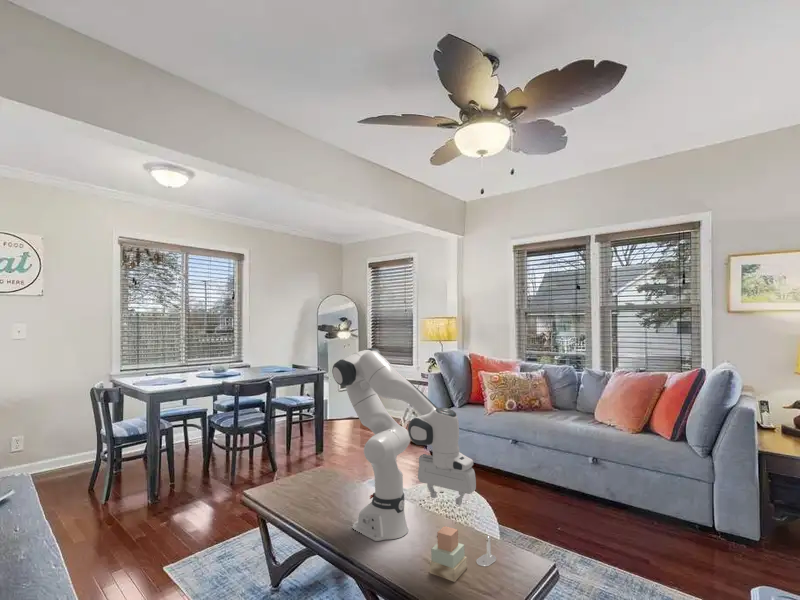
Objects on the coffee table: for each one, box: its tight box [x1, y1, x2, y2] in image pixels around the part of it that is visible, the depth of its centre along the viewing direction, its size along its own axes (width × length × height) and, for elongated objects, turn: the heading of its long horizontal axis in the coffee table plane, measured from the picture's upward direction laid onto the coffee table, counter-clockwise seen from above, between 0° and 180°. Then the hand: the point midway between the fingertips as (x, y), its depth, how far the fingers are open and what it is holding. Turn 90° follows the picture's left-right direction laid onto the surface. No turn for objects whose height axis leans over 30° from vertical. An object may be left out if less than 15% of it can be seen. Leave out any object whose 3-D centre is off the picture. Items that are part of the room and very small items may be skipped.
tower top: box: [430, 542, 466, 568], centre depth 144 cm, size 8×8×4 cm
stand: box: [475, 535, 497, 567], centre depth 149 cm, size 8×5×8 cm
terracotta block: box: [436, 525, 459, 552], centre depth 144 cm, size 5×5×5 cm
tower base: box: [429, 556, 468, 582], centre depth 144 cm, size 9×9×4 cm
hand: (446, 500), depth 145 cm, fingers open, 8 cm apart
